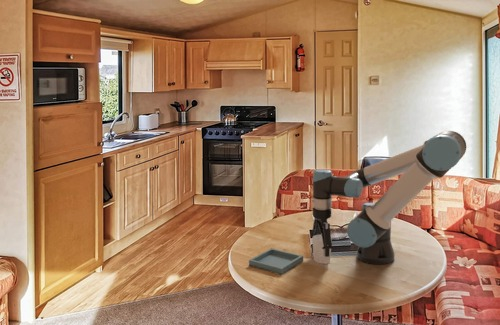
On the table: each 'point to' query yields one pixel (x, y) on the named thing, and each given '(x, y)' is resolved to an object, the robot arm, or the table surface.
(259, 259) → the slate tray
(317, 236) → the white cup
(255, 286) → the table surface
